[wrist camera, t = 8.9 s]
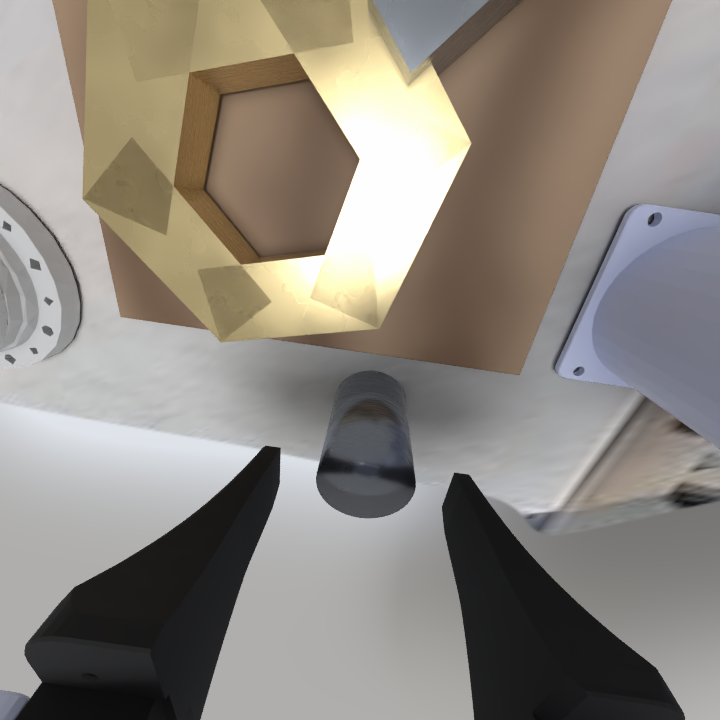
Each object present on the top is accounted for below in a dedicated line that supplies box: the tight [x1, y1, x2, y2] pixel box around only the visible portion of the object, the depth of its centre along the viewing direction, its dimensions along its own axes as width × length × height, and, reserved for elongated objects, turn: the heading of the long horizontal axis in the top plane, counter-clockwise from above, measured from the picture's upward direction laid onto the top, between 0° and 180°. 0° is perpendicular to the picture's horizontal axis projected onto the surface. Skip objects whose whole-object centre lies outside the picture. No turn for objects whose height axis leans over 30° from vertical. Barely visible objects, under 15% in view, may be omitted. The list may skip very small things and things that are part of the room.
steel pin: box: [316, 371, 416, 518], centre depth 15 cm, size 4×4×6 cm
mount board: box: [52, 0, 672, 375], centre depth 12 cm, size 20×16×1 cm
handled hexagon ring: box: [83, 0, 522, 342], centre depth 10 cm, size 20×13×3 cm
